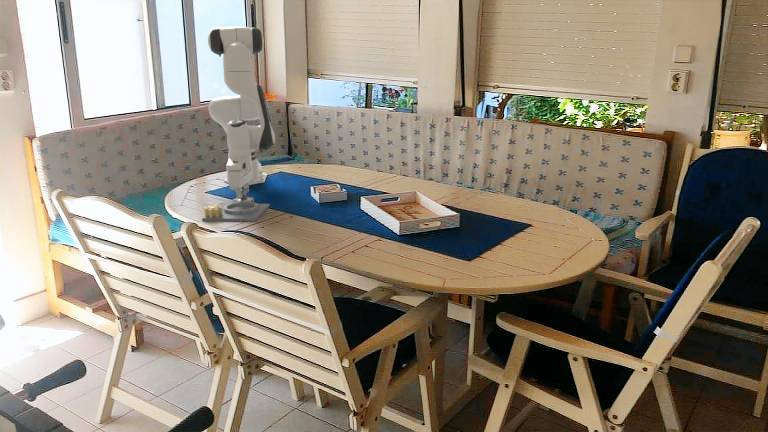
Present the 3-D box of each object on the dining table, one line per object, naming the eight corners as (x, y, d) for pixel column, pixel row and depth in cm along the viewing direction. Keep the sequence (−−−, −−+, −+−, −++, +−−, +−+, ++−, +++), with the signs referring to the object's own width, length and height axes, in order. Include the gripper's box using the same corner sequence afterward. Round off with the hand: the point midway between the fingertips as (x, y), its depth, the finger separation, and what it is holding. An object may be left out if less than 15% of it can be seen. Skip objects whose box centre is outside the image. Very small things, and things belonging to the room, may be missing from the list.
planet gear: (236, 199, 260) (235, 186, 258) (256, 200, 259) (255, 187, 257) (230, 205, 252) (228, 192, 250) (250, 205, 251) (249, 192, 249)
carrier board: (220, 205, 252) (219, 195, 251) (269, 206, 250) (269, 196, 249) (201, 220, 233) (200, 210, 232) (255, 221, 231) (254, 211, 230)
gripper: (240, 156, 260) (243, 188, 264) (224, 167, 241) (227, 202, 245) (255, 156, 259) (257, 188, 264) (240, 167, 240) (243, 202, 244)
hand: (243, 195), depth 254 cm, fingers open, 7 cm apart
